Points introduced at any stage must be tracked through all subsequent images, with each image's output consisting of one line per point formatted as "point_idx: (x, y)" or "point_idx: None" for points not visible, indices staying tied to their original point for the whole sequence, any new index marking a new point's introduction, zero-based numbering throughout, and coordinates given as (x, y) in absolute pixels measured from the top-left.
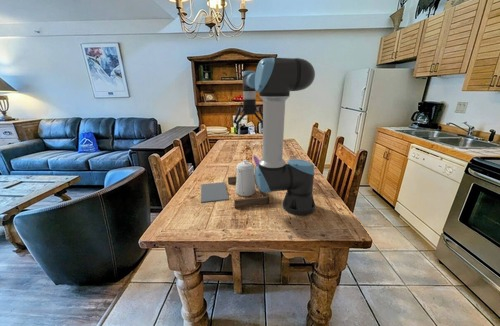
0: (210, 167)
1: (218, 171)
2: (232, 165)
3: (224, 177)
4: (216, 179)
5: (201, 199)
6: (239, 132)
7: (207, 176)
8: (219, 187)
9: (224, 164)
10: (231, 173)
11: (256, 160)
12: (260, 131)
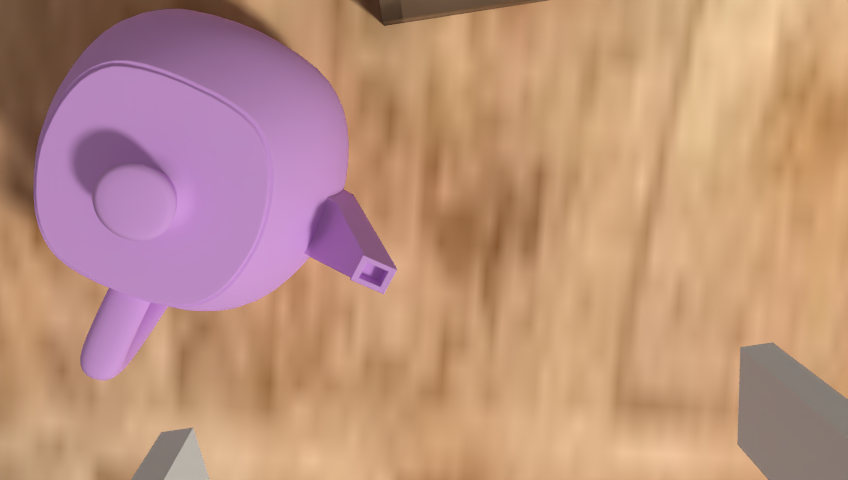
0: None
1: (716, 287)
2: (578, 425)
3: (673, 134)
4: (749, 90)
5: None
6: (798, 379)
7: (824, 171)
8: None
9: (649, 453)
10: (601, 229)
11: (356, 229)
12: (163, 470)
